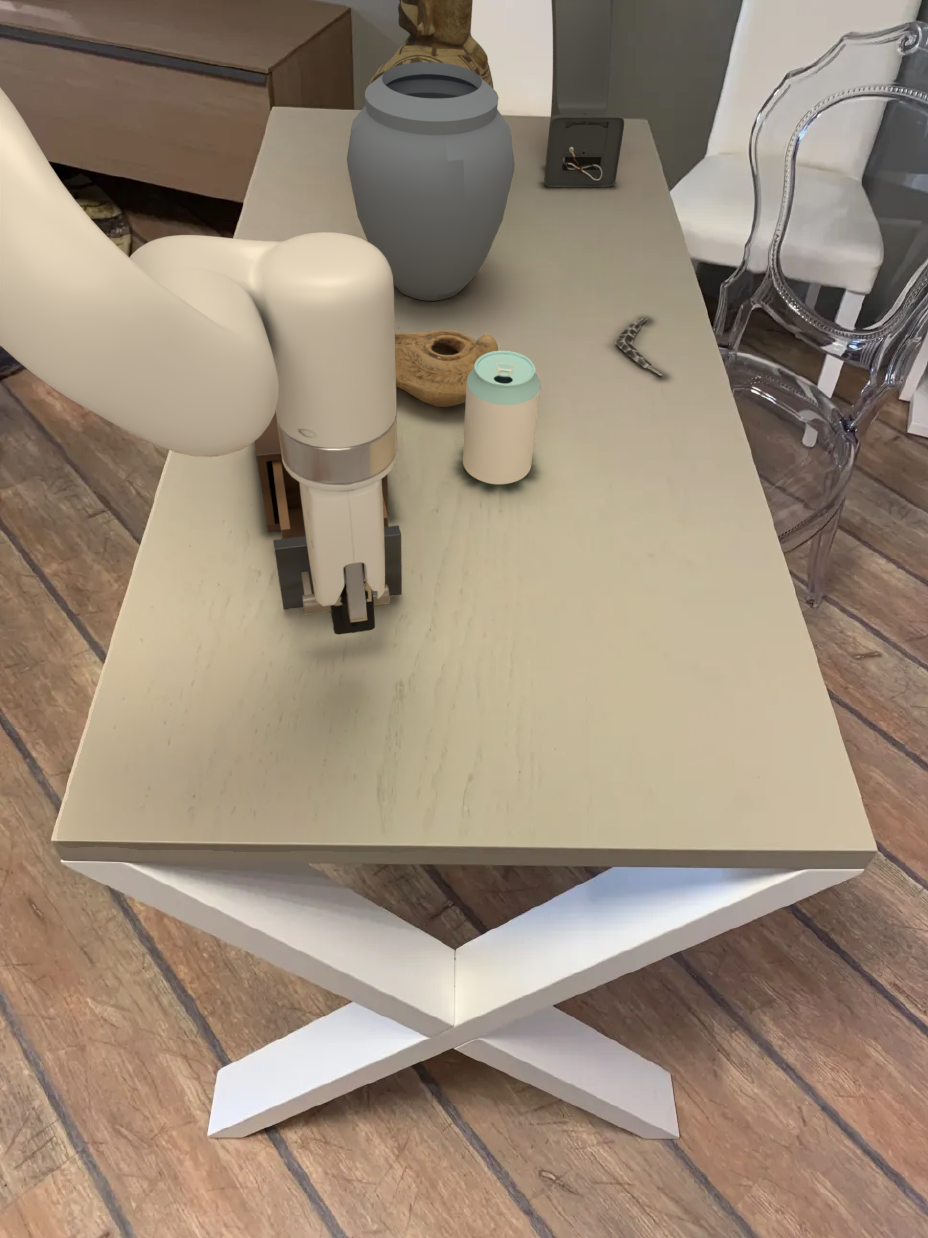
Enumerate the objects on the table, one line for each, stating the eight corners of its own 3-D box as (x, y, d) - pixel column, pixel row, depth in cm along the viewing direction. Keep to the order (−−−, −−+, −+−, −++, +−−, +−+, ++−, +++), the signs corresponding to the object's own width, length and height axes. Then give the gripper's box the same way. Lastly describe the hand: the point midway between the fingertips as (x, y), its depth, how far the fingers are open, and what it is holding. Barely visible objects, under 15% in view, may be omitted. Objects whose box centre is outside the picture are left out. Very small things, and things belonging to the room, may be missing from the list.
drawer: (410, 631, 81) (410, 570, 75) (288, 647, 79) (278, 587, 73) (380, 502, 92) (378, 442, 86) (272, 514, 90) (262, 453, 84)
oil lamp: (367, 363, 109) (365, 300, 103) (497, 366, 110) (501, 303, 104) (363, 421, 102) (360, 356, 96) (502, 423, 102) (507, 359, 96)
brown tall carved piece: (328, 178, 141) (312, -63, 119) (425, 140, 152) (427, -88, 130) (420, 221, 133) (422, -29, 111) (515, 177, 144) (534, -58, 122)
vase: (410, 235, 130) (409, 37, 112) (532, 278, 124) (552, 75, 105) (322, 294, 119) (305, 84, 101) (451, 344, 112) (459, 129, 94)
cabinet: (388, 517, 91) (386, 442, 85) (267, 531, 89) (255, 455, 83) (368, 433, 100) (365, 358, 93) (257, 444, 98) (246, 368, 92)
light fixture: (592, 141, 154) (616, -34, 136) (615, 188, 143) (644, 3, 125) (527, 141, 153) (542, -35, 135) (544, 188, 142) (564, 2, 124)
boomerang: (608, 311, 117) (647, 314, 117) (607, 317, 118) (646, 320, 118) (622, 370, 109) (664, 373, 109) (620, 375, 109) (663, 378, 109)
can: (543, 476, 97) (557, 376, 88) (485, 497, 94) (492, 396, 85) (507, 438, 101) (516, 339, 92) (450, 458, 98) (453, 357, 89)
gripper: (270, 375, 65) (296, 564, 78) (290, 520, 55) (315, 707, 69) (379, 365, 66) (385, 553, 80) (416, 505, 56) (417, 692, 70)
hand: (353, 624), depth 74 cm, fingers closed
